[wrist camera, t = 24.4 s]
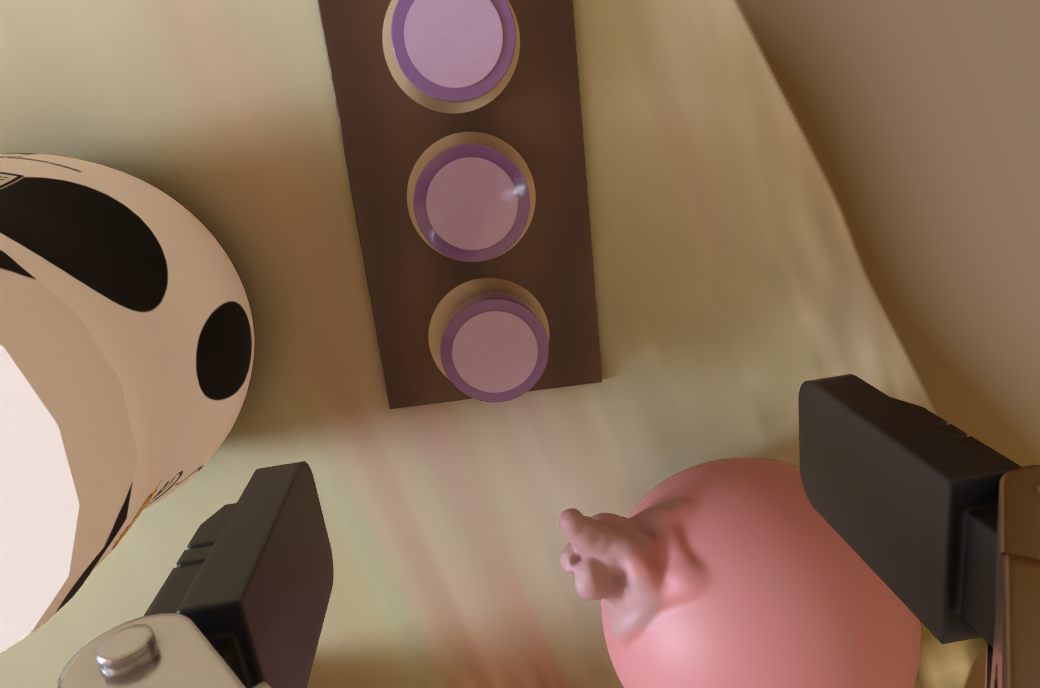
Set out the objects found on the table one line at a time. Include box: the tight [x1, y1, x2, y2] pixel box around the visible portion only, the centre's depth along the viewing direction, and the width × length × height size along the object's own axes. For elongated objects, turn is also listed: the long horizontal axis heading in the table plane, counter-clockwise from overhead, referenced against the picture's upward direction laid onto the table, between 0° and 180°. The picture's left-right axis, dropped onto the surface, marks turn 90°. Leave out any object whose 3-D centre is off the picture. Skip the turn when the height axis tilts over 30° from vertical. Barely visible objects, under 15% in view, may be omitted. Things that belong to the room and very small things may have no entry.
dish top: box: [440, 290, 549, 402], centre depth 38 cm, size 6×6×3 cm
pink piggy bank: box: [559, 458, 921, 688], centre depth 37 cm, size 15×20×15 cm
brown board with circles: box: [318, 0, 602, 409], centre depth 37 cm, size 12×22×1 cm, turn 6°
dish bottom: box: [413, 142, 530, 262], centre depth 36 cm, size 6×6×3 cm
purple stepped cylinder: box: [391, 0, 516, 103], centre depth 34 cm, size 6×6×3 cm
